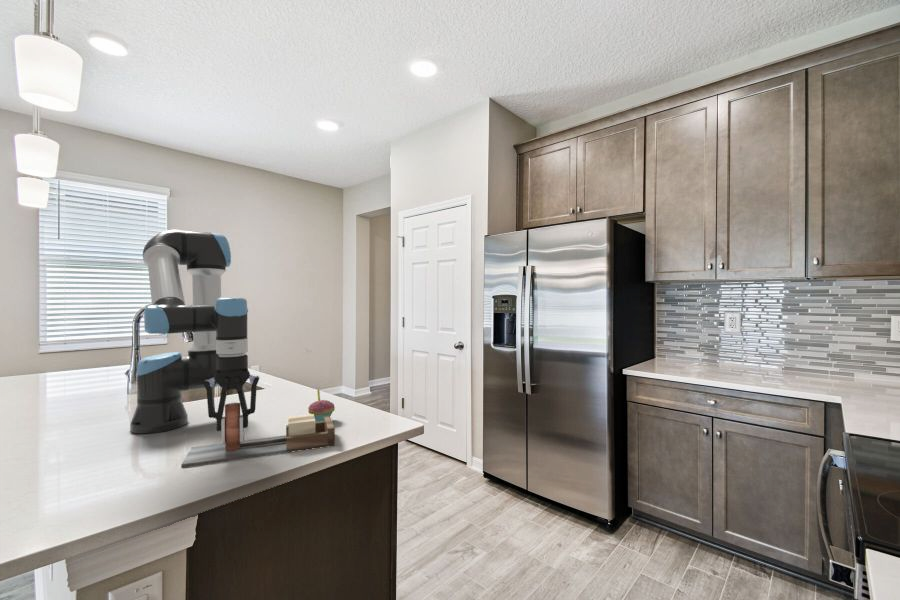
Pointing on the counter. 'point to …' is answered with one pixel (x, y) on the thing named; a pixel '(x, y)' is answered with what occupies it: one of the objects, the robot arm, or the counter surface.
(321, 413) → the cupcake
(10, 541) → the counter surface
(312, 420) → the rod with end block
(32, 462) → the counter surface
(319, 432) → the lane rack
